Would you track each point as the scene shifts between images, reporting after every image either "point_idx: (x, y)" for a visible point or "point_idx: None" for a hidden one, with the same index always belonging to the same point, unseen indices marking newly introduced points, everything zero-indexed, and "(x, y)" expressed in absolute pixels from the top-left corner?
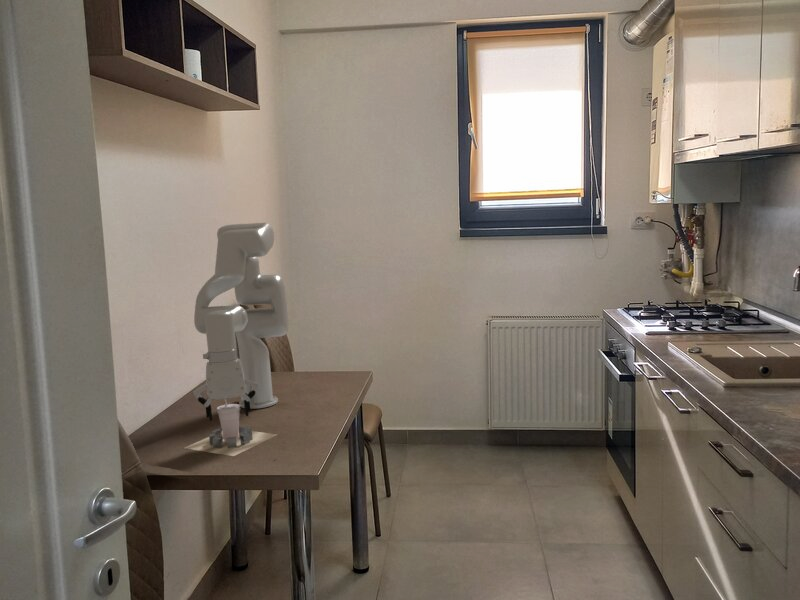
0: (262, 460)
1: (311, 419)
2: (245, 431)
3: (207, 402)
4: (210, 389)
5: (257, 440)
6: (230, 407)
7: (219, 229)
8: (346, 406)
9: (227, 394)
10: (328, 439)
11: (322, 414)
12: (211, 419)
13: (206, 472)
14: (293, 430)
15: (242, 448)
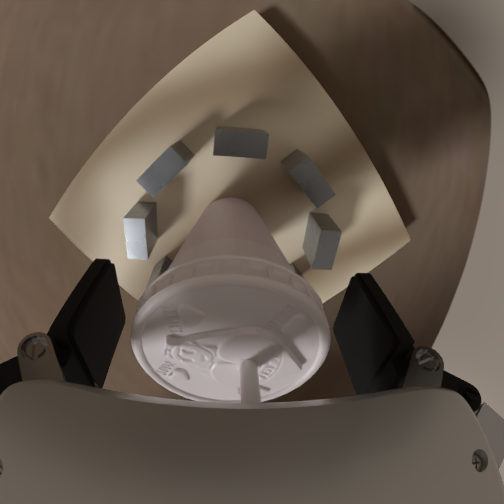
0: None
1: (19, 331)
2: (160, 268)
3: (429, 378)
4: (486, 486)
5: (118, 177)
6: (212, 337)
7: None
8: None
9: (241, 459)
10: None
11: (10, 345)
12: (360, 276)
13: None
14: (33, 278)
15: (195, 89)
